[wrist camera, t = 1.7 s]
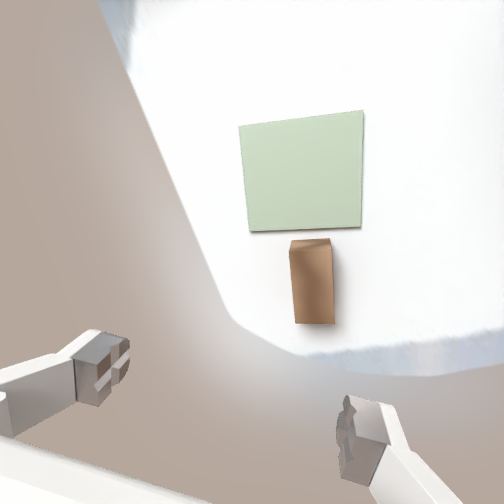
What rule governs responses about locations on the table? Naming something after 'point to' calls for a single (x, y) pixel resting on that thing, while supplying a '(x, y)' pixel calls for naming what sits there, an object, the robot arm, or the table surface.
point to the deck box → (312, 281)
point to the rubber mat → (303, 172)
